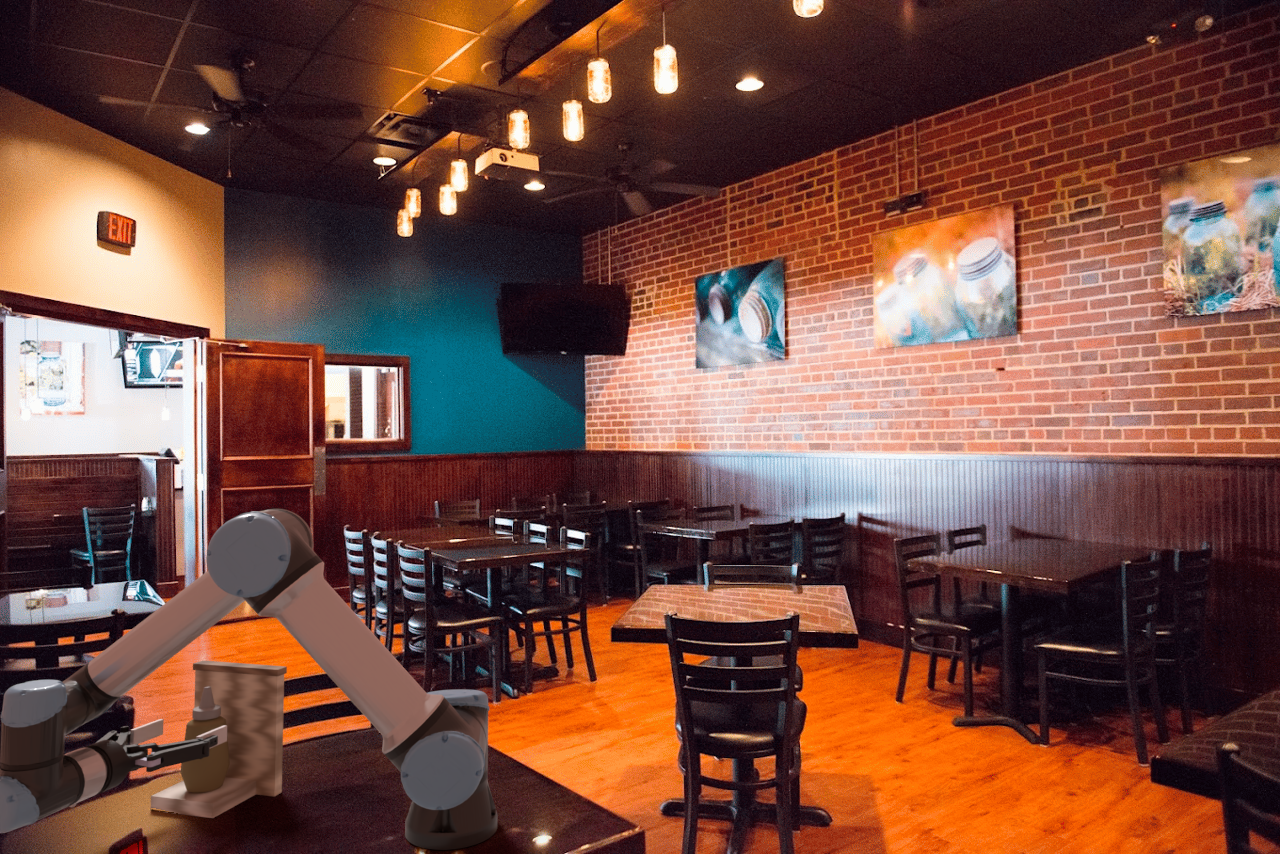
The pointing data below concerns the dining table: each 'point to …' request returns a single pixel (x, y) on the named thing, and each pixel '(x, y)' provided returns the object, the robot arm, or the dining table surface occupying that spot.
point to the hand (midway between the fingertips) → (193, 729)
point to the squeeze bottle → (215, 766)
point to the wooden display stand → (238, 737)
